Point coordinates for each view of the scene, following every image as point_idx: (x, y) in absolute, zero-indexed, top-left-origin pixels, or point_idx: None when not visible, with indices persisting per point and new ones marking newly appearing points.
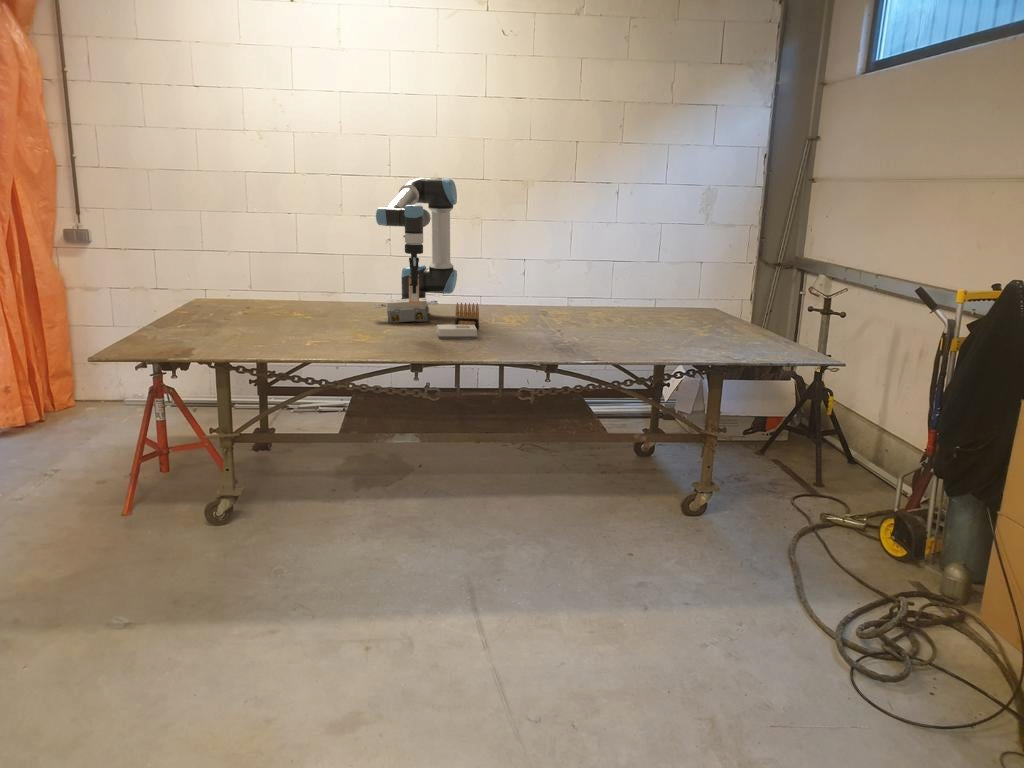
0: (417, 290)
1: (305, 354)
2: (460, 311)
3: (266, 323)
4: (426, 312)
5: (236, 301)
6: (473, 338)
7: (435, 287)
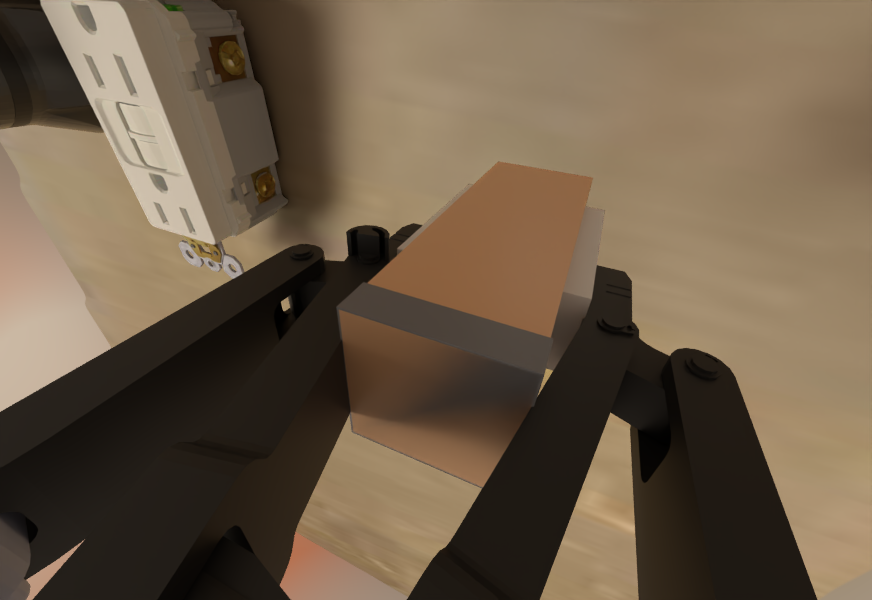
0: (595, 263)
1: None
2: None
3: (347, 478)
4: (172, 2)
5: None
6: None
7: None
